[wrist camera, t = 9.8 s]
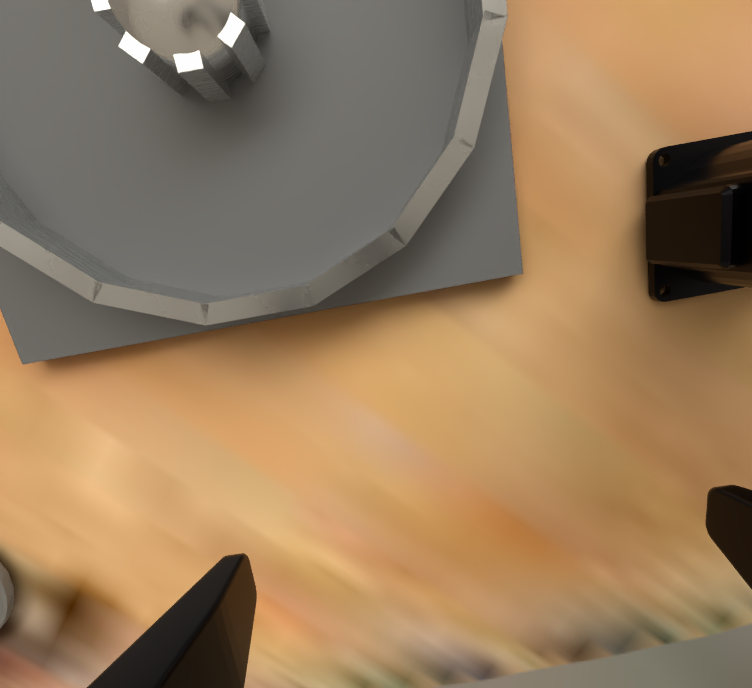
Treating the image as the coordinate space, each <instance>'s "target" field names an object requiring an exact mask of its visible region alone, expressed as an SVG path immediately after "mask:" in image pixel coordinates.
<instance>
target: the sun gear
mask: <svg viewBox="0 0 752 688" xmlns="http://www.w3.org/2000/svg"><path fill="white" fill-rule="evenodd" d="M91 2H92V5H93V8H94V12H96V13H97V14H98V15H99V16H100V17H101V18H102V19H104V20H105V21H106V22H107V23H108V24H109V25H110V26H112V27H113V28H114V29H115V30H116V31H117V32H118V33H120V34H121V35H122V36H123V38H122V40H121V42H120V44H119V47H120V48H121V49H122V50H124V51H125V52H126V53H127V54H129V55H130V56H131V57H132V58H133V59H135V60H136V61H137V62H138V63H140V64H141V65H142V66H143V67H144V68H146V69H147V70H148V71H149V72H151V73H152V74H153V75H154V76H156V77H157V78H158V79H159V80H160V81H162V82H163V83H164V84H166V85H167V86H168V87H170V88H171V89H173V90H174V91H175V92H177V93H178V94H179V95H181V96H182V95H183V93H184V92H185V90H186V88H187V86H188V84H189V85H191V86H193V87H194V88H195V89H196V90H197V91H198V92H199V93H200V94H201V95H202V96H203V97H204V98H205V99H206V100H207V101H208V102H210V103H216V102H222V101H227V100H231V95H230V91H229V87H228V85H230V84H232V83H233V82H235V81H236V80H237V79H239V78H240V77H241V76H242V75H244V76H246V77H247V78H248V79H250V80H251V81H252V82H254V83H255V81H256V80H257V78H258V76H259V75H260V73H261V71H262V69H263V68H264V66H265V64H266V63H265V61H264V59H263V57H262V55H261V53H260V51H259V49H258V47H257V46H256V45H257V34H261V33H267V32H270V28H269V23H268V18H267V13H266V8H265V5H264V2H263V0H91Z"/></svg>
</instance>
